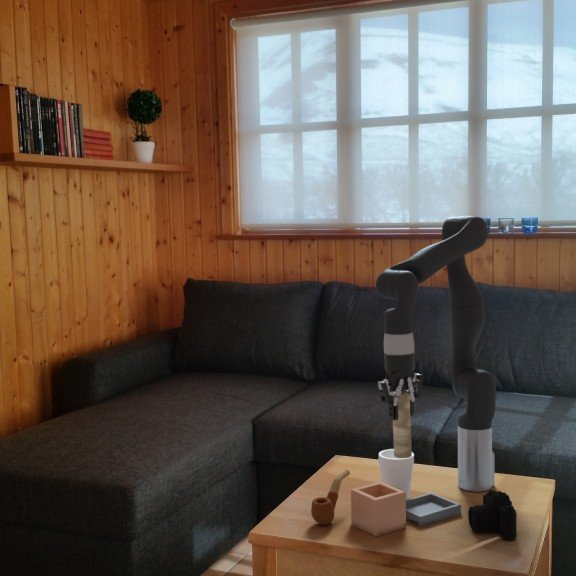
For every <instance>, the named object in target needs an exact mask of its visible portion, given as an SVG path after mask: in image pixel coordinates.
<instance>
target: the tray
mask: <svg viewBox="0 0 576 576" xmlns="http://www.w3.org/2000/svg"><path fill="white" fill-rule="evenodd" d="M461 514H462V504H460V503H458V502H455V501H453V500H450V499H449V498H446V497H443V496H442V495H438V494H436V493H433V492H429V493H425V494H422V495H418V496H415V497H411V498H410V497H409V499H407V500H406V522H407V521H408V522H409V523H412V524H413V525H416V526H418V527H423V526H427V525H430V524H433V523H437V522H440V521H443V520H445V519H446V520H447V519H449V518H452V517H457V516H459V515H461Z"/></svg>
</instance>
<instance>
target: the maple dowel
mask: <svg viewBox="0 0 576 576" xmlns="http://www.w3.org/2000/svg"><path fill="white" fill-rule="evenodd" d="M393 392H394V393H395V392H396V391H393ZM392 397H393V396H392ZM392 400H393V399H392ZM397 406H398V420H392V434H393V449H394V456H395V457H397V458H409V457H411V456H412V453H413V451H412V427H411V425H412V424H411V417H410V394H409V393H408V392H403V391H401V393H400V397H398V402H397Z"/></svg>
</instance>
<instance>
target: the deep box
mask: <svg viewBox="0 0 576 576" xmlns="http://www.w3.org/2000/svg"><path fill="white" fill-rule="evenodd" d="M350 515H351V516H350V518H351V519H350V520H351V523H350V524H351V525H352V526H354V527H356V528H358V529H360V530H362V531H363V532H366V533H368V534H369V535H372V536H373V537H379V536H382V535H386V534H389V533H393V532H396V531H399V530H403V529H405V528H407V520H406V492H404V491H402V490H400V489H397V488H395V487H392V486H390V485H387V484H385V483H383V482H382V481H378V482H374V483H370V484H366V485H363V486H359V487H354V488H351V489H350Z"/></svg>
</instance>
